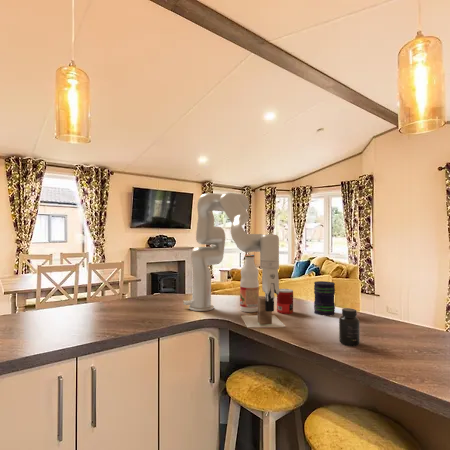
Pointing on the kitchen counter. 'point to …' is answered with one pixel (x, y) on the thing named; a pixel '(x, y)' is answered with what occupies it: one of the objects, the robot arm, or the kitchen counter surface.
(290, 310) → the canned food
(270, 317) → the block
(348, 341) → the supplement bottle
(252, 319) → the mat
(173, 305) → the kitchen counter surface
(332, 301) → the storage jar
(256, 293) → the fruit juice
